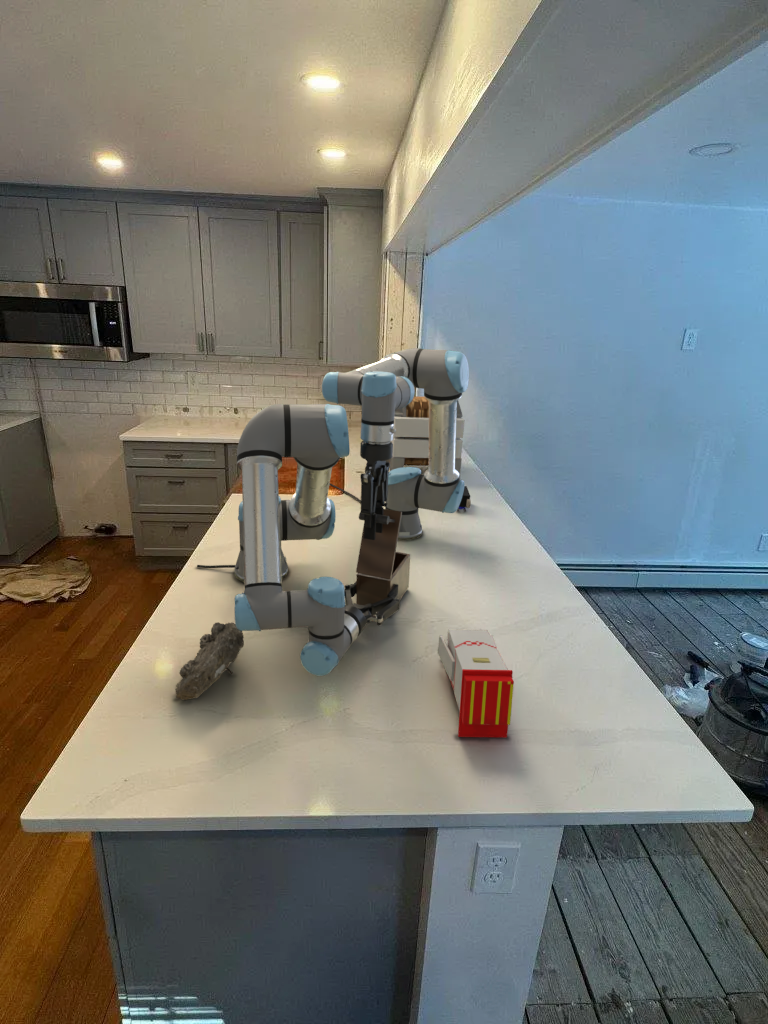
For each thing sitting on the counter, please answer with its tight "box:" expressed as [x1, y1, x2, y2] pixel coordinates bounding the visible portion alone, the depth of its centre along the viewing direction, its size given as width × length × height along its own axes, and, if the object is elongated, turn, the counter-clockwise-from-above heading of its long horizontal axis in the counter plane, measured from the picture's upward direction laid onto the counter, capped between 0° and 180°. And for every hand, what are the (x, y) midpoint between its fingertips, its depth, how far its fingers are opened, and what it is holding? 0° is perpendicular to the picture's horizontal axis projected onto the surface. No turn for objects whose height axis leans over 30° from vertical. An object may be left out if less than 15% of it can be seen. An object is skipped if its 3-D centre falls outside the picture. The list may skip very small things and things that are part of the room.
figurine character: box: [456, 485, 472, 513], centre depth 228 cm, size 7×8×15 cm
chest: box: [355, 551, 411, 605], centre depth 153 cm, size 17×9×10 cm, turn 160°
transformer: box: [386, 395, 465, 480], centre depth 268 cm, size 34×33×41 cm
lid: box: [355, 508, 402, 579], centre depth 140 cm, size 17×9×8 cm
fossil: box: [174, 621, 245, 701], centre depth 119 cm, size 22×10×15 cm
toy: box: [437, 628, 515, 738], centre depth 117 cm, size 12×13×30 cm
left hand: (378, 585), depth 149 cm, fingers closed on chest, 9 cm apart
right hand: (373, 535), depth 138 cm, fingers open, 4 cm apart
